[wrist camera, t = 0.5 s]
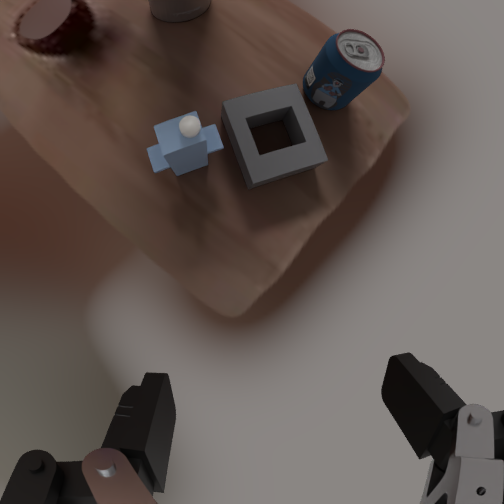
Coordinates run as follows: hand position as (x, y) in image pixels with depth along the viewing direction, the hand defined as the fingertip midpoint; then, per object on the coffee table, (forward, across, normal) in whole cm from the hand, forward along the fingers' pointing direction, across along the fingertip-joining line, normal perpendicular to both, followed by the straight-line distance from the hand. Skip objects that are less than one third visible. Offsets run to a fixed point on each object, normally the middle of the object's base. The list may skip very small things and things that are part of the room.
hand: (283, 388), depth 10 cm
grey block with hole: (+30, -3, -12) cm, 32 cm away
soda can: (+32, -11, -19) cm, 39 cm away
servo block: (+29, +7, -10) cm, 31 cm away
